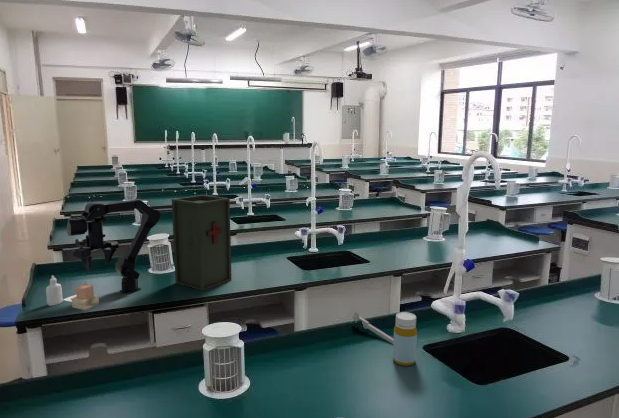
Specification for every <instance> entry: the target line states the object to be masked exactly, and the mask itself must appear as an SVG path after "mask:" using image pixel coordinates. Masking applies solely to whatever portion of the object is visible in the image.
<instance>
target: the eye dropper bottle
mask: <svg viewBox="0 0 619 418" xmlns="http://www.w3.org/2000/svg"><path fill="white" fill-rule="evenodd" d="M45 294H46V303H47V304H46V305H47V306H49V307H51V306H52V307H53V306H56V305H59V304H62V303H63V302H64V300H63V299H64V298H63V289H62V285H61V284H60V283H57V278H56V277H55V276H54V275H51V278H50V279H49V285H48V286H46V287H45Z"/></svg>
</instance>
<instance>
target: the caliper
mask: <svg viewBox="0 0 619 418" xmlns="http://www.w3.org/2000/svg"><path fill="white" fill-rule="evenodd" d="M358 320H361V321H362V324H363V327H362V328H364V329H365V330H366V329H367V330H369V331H371V332H372V333H375V334H376V335H377V336H378V337H380V338H382V339H384V340H385V341H386V342H388V343H390V344H392V345H393V341H394V337H391V336H390V335H389V334H387V333H385V332H384V331H382V330H381V329H379V328H377V327H376V326H374V325H372V324H371V323H370V322H369V321H368V320H367V319H364V318H363V317H361V316H360V313H358V312H357V311H355V312H354V313H353V314H352V317H351V322H352V321H356V322H357V321H358Z"/></svg>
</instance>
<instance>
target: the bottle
mask: <svg viewBox="0 0 619 418" xmlns="http://www.w3.org/2000/svg"><path fill="white" fill-rule="evenodd" d="M416 326H417V316H416V315H415V313H412V312H406V311H401V312H397V313H396V315H395V325H394V328H393V339H394V341H393V344H392V360H393V361H394V363H395V364H398V365H400V366H403V367H405V366H406V367H407V366H408V367H409V366H412V365H414V364H415V362H416V358H417V357H416V355H417V339H418V337H417V336H418V329H417V327H416Z"/></svg>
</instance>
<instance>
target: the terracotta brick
mask: <svg viewBox="0 0 619 418" xmlns="http://www.w3.org/2000/svg"><path fill="white" fill-rule="evenodd" d="M94 292H95V291H94V285H92V284H88V283H87V284H86V283H84V284H81V285H79V286H75V295H76V296H77V298H80V299H84V300H85V299H87V298H90V297H92V296H94V295H95V293H94Z"/></svg>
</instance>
